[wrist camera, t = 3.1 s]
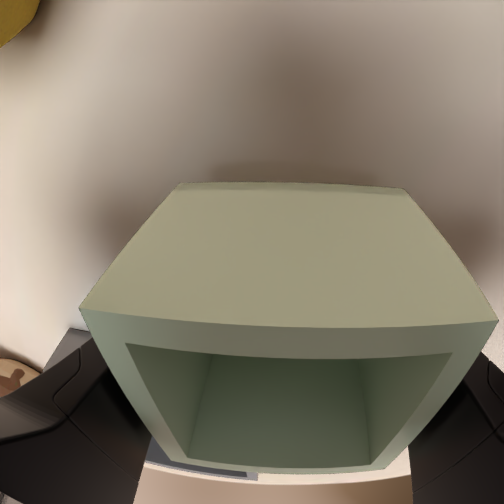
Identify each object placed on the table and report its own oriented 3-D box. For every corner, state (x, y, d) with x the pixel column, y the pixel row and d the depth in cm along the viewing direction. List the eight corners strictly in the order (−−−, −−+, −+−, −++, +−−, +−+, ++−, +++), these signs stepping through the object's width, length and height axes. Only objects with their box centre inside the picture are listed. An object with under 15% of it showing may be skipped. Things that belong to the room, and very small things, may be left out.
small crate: (403, 188, 7) (499, 319, 3) (365, 344, 11) (384, 469, 6) (179, 182, 8) (78, 307, 4) (205, 338, 11) (171, 460, 7)
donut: (73, 371, 19) (46, 423, 15) (121, 442, 27) (108, 479, 22) (-27, 328, 20) (-52, 362, 16) (27, 404, 27) (12, 433, 23)
